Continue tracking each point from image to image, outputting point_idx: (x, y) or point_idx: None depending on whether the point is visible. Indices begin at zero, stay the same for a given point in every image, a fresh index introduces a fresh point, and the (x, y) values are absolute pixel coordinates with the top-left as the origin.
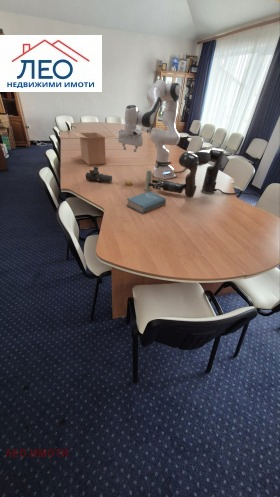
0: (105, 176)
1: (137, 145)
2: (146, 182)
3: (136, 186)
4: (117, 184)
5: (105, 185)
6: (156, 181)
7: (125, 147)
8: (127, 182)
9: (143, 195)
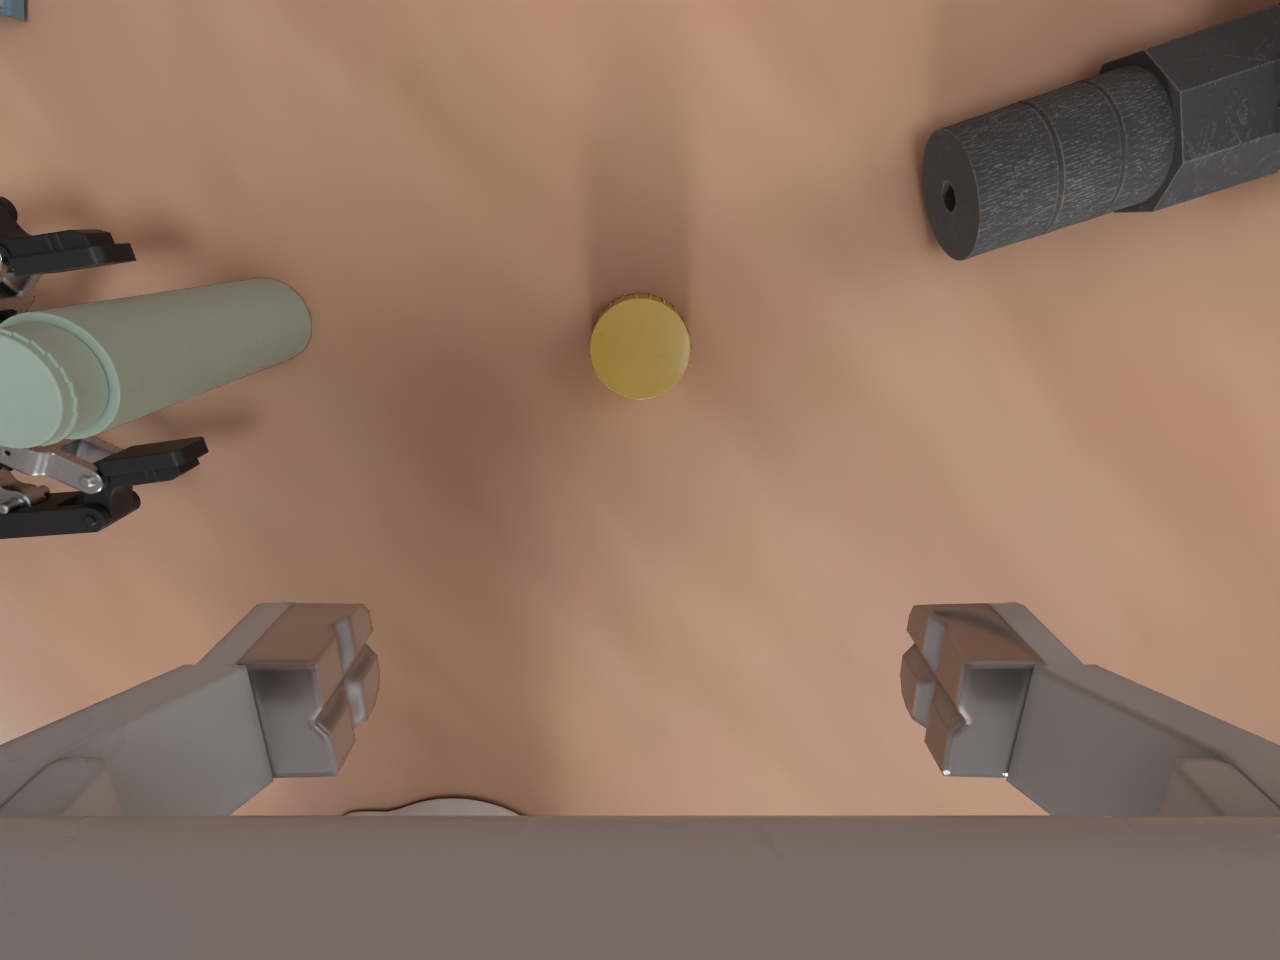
0: (1077, 116)
1: None
2: (192, 291)
3: (492, 341)
4: (792, 212)
5: (952, 15)
6: (109, 458)
7: (969, 726)
8: (639, 302)
9: None
